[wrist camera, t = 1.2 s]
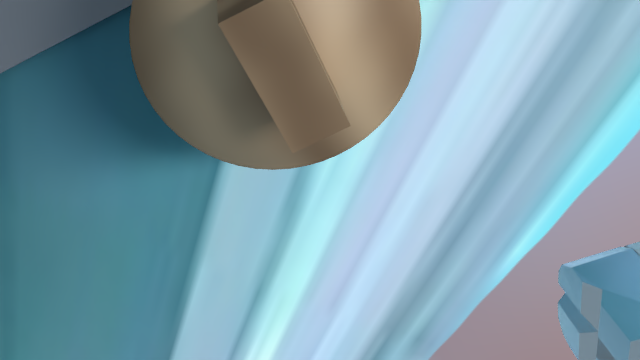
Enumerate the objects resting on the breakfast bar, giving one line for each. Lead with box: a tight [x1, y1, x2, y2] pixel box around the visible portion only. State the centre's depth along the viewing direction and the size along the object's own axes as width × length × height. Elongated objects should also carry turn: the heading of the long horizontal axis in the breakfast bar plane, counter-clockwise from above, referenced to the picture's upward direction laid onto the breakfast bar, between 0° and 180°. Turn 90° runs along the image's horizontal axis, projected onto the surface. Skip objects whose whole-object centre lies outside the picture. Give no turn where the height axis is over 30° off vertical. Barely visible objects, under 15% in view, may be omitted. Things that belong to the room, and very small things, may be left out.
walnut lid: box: [129, 0, 421, 170], centre depth 27 cm, size 14×14×5 cm
